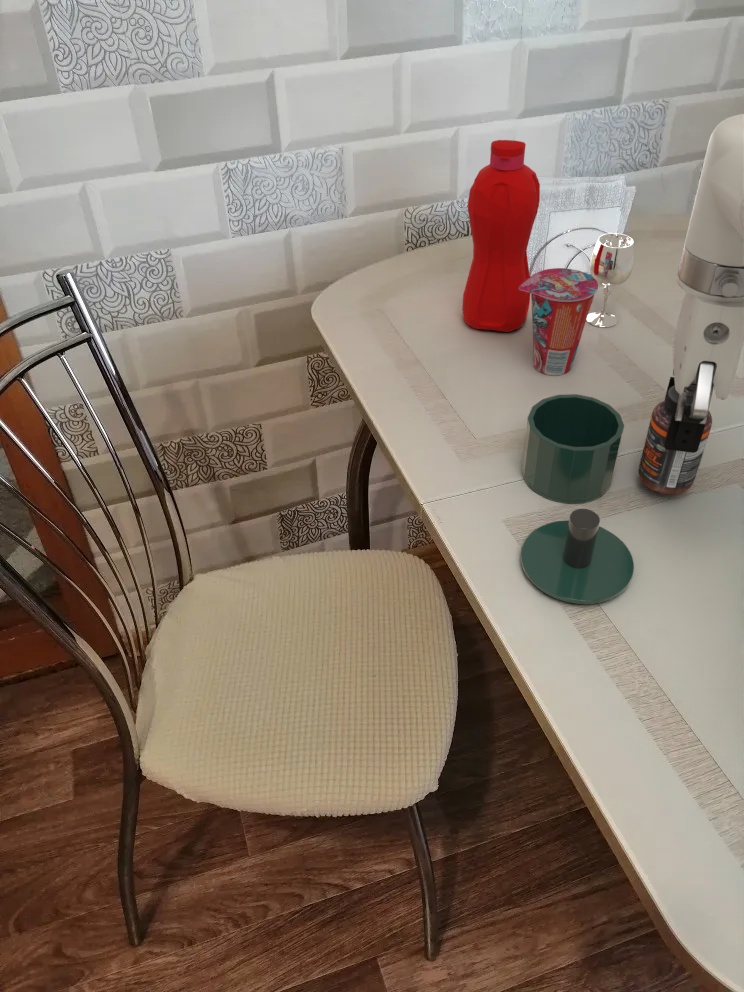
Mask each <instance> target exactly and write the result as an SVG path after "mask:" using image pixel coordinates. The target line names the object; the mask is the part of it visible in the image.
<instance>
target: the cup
mask: <svg viewBox="0 0 744 992" xmlns="http://www.w3.org/2000/svg"><path fill="white" fill-rule="evenodd" d="M519 290H522V291H526V292H530V301H531V323H532V325H531V326H532V360H533V362H532V363H533V367H534V369H535V370H537V371H538V372H539V373H541V374H544V375H546V376H562V375H566V374H568V373H569V372H570V371H571V370H572V368H573V365H574V361H575V357H576V354H577V351H578V349H579V348H578V347H579V344H580V342H581V338H582V335H583V331H584V329H585V325H586V322H587V320H586V319H587V316H588V314H590V313H589V312H590V309H591V307H592V303H593V300H594V297H595V294H597V292H598V290H599V283H598V282H597V281H596V280H595V279H594V278H593V277H592V276H591V274H589V273H587V272H585V271H581V270H578V269H572V268H566V267H565V268H563V267H553V268H548V269H543V270H540V271H538V272H535V273H534V274H533V275H530V278H528V279H527V280H526V281H525V282H523V283H522V284H521V285H520V286H519Z"/></svg>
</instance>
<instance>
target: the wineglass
mask: <svg viewBox="0 0 744 992" xmlns="http://www.w3.org/2000/svg"><path fill="white" fill-rule="evenodd" d="M634 263H635V244H634V239H633V238H632V237H630V236H629V235H627V234H623V233H617V232H616V233H615V232H614V233H613V232H610V233H609V232H608V233H604V234H602V235H600V236H599V237H598V238H597V241H596V243H595V245H594V248H593V251H592V254H591V258H590V262H589V272H590V275H591V276H592V277H593V278H594V279H595V280H596V281H597V283H598V285H601V286H604V287H603V290H602V294H603V301H602V307H601V310H600V311H599V310H598V311H597V310H596V311H592V312H590V313H588V316H587V319H586V322H587V323H588V324H590V326H594V327H597V328H611V327H614V326H616V325H617V324H618V317H617V316H616V315H615V314H613V313H611V312H608V311H606V308H607V302H608V298H609V296H610V295H611V291H612V290H611V287H615V286H619V285H621V284H624V283H625V282H626V281H627V280H628V279H629V278H630V276H631V275H632V272H633V269H634V265H635V264H634Z"/></svg>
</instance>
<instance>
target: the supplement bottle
mask: <svg viewBox="0 0 744 992" xmlns="http://www.w3.org/2000/svg"><path fill="white" fill-rule="evenodd" d="M687 388H691V389H695V385H691V384H690V385H689V386H688V387H687ZM693 398H694V397H686V402H685V407H686V406H691V404H692V402H693ZM678 399H679V393H678V392H677V391H676V389H675V386H672V387H671V388H670V389H669V391H668V394H667V397H666V399H665V398H664V400H662V401H660V402H658V403H657V404H656V406H655V407H654V408H653V411H652V413H651V417H650V421H649V425H648V429H647V433H646V437H645V441H644V445H643V449H642V452H641V456H640V459H639V464H638V471H637V472H638V477H639V479H640V481H641V482H642V483H643V485H644V486H646V487H647V488H649V489H650V490H652V491H654V492H657V493H661V494H666V495H678V494H682V493H684V492H687V491H688V490H689V489H691V487H692V486H693V485H694V482H695V479H696V477H697V474H698V470H699V467H700V465H701V461H702V458H703V455H704V451H705V448H706V446H707V443H708V439H709V436H710V432H711V429H712V427H713V416H712V414H711V412H710V410H709V411H708V415H707V422H706V425H705V428H704V431H703V435H702V438H701V441H700V445H699V448H698V451H697V452H695V453H691V452H683V451H675V450H667V449H665V447H664V443H665V439H666V435H667V431H668V428H669V424H670V420H671V416H672V414H676V409H677V404H678ZM685 407H684V408H685Z"/></svg>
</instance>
